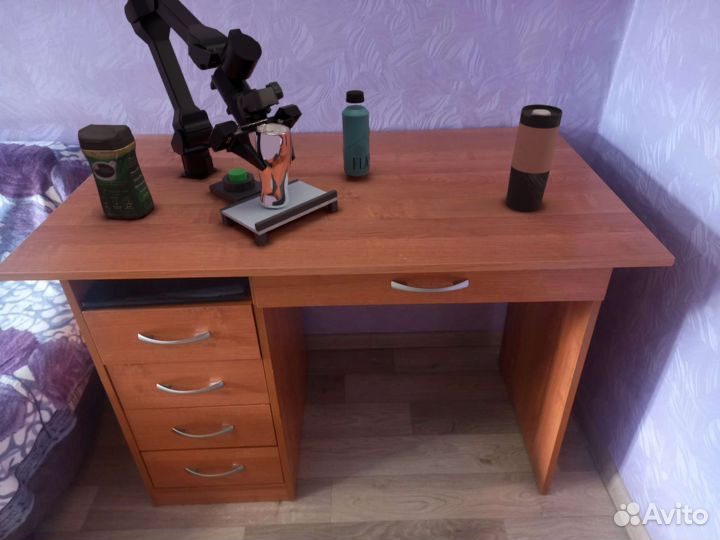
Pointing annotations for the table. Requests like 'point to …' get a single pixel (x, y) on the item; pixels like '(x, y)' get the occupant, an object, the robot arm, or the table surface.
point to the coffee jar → (116, 170)
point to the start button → (237, 175)
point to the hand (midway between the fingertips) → (279, 164)
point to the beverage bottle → (355, 135)
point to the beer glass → (274, 163)
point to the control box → (236, 189)
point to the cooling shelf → (278, 209)
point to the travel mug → (532, 156)
